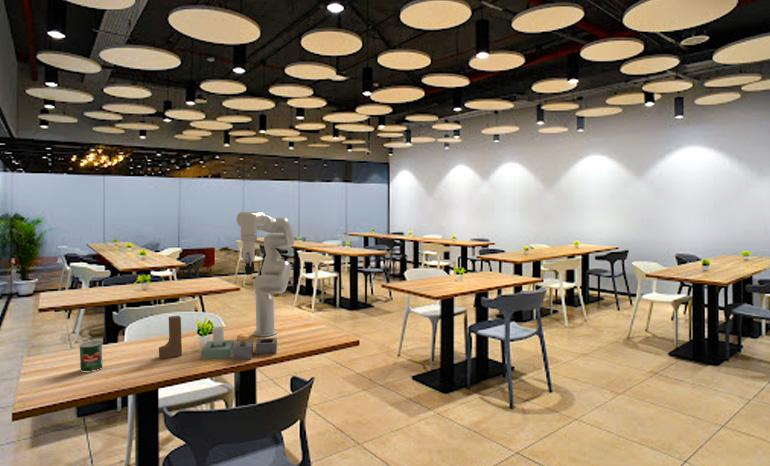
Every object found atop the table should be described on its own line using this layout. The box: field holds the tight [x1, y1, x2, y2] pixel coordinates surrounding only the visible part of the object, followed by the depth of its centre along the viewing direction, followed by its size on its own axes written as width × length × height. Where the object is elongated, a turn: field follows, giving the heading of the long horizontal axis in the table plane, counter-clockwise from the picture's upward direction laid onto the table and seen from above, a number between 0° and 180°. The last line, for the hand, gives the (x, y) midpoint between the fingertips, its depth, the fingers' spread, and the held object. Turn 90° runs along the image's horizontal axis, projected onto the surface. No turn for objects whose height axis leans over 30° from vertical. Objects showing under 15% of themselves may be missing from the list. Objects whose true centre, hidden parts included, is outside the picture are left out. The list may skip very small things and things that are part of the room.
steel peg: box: [212, 326, 225, 347], centre depth 213 cm, size 4×4×12 cm
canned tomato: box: [79, 340, 103, 371], centre depth 193 cm, size 8×8×11 cm
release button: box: [236, 333, 250, 345], centre depth 208 cm, size 5×5×9 cm
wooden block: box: [158, 315, 183, 360], centre depth 209 cm, size 9×4×18 cm, turn 125°
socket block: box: [255, 337, 278, 356], centre depth 216 cm, size 9×9×5 cm
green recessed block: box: [201, 339, 235, 360], centre depth 213 cm, size 14×12×4 cm
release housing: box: [232, 340, 254, 361], centre depth 209 cm, size 8×8×6 cm
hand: (249, 272), depth 223 cm, fingers open, 9 cm apart
